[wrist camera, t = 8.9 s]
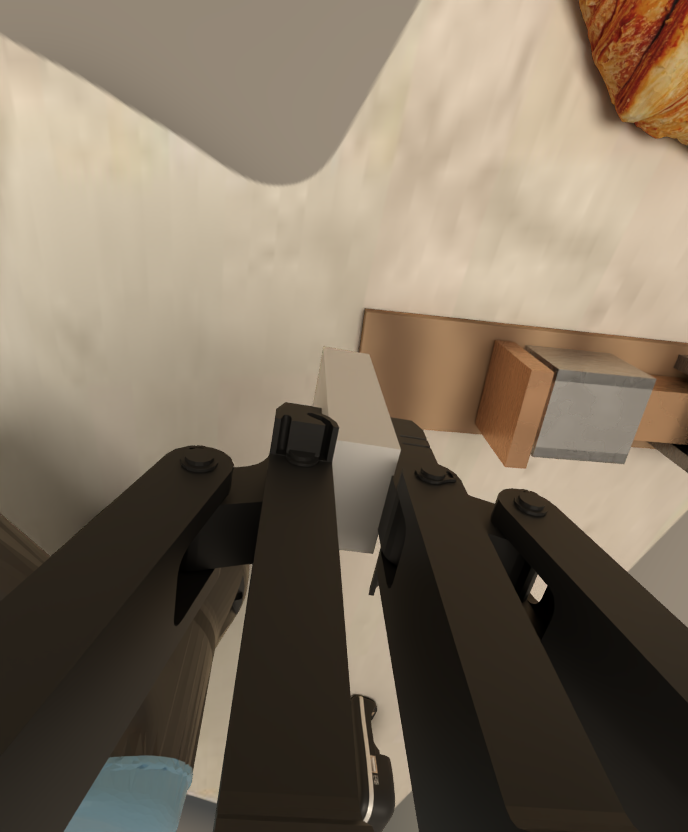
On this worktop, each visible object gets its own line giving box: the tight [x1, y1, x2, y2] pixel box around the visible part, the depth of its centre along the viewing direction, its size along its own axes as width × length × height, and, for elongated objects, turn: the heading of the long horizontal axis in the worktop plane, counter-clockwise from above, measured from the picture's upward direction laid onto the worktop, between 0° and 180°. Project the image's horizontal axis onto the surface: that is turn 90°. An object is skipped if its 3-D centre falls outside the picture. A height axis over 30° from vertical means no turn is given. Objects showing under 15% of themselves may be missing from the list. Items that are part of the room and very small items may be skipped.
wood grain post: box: [475, 340, 688, 469], centre depth 38 cm, size 20×7×7 cm, turn 83°
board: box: [359, 308, 688, 449], centre depth 42 cm, size 32×9×1 cm, turn 83°
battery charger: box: [351, 696, 395, 832], centre depth 52 cm, size 7×4×11 cm, turn 158°
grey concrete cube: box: [524, 345, 657, 464], centre depth 39 cm, size 7×7×6 cm
